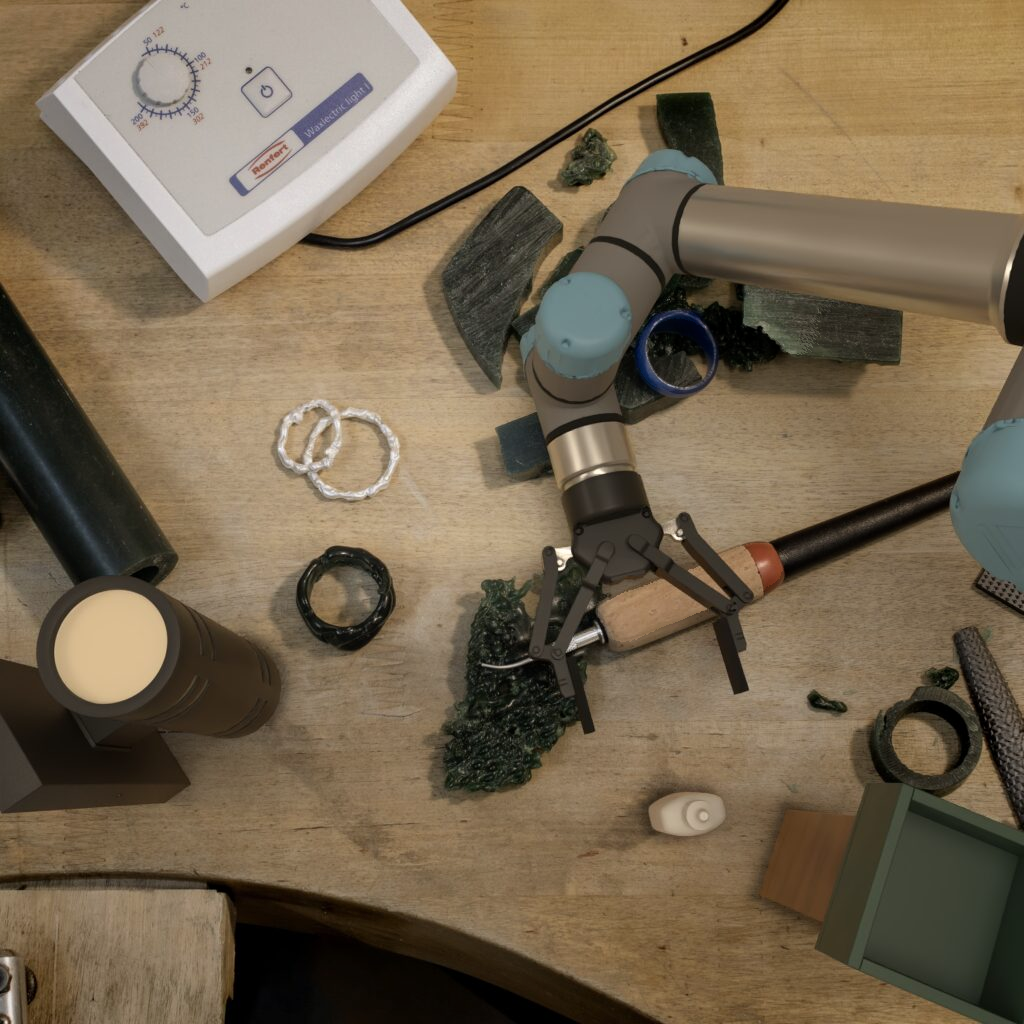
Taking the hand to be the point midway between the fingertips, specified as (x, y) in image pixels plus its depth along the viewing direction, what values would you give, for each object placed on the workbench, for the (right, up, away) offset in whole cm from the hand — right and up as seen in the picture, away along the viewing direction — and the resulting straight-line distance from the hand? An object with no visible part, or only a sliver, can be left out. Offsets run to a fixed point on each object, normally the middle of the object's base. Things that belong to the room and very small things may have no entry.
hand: (666, 713), depth 90 cm
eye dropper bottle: (+2, -10, +6) cm, 12 cm away
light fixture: (-42, -1, +8) cm, 42 cm away
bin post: (+14, -15, +5) cm, 21 cm away
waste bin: (+14, -9, -19) cm, 25 cm away
